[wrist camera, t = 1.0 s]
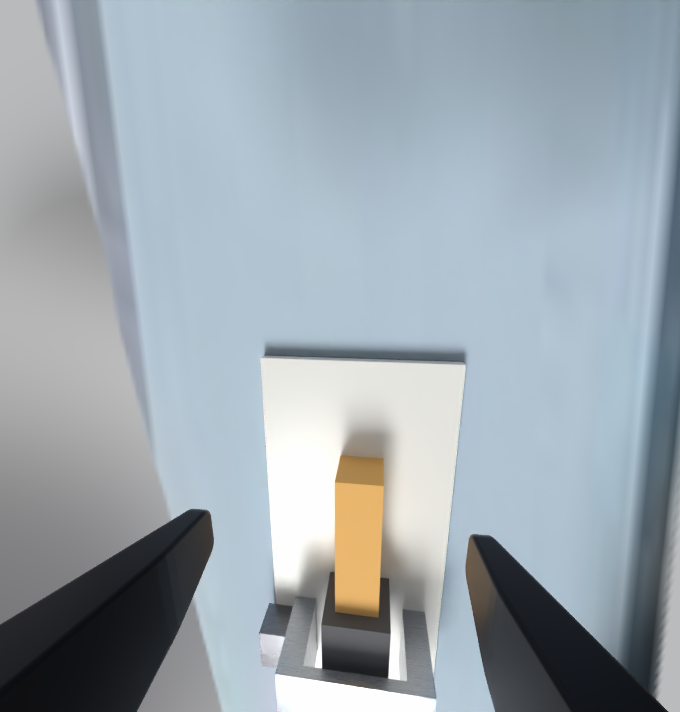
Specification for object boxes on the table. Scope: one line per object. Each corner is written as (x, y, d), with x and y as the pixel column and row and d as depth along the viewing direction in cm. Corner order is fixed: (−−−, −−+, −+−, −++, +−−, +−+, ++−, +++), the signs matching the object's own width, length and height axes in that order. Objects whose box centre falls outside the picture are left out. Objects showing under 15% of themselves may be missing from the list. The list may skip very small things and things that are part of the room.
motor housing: (424, 611, 21) (436, 699, 17) (420, 665, 23) (429, 759, 18) (268, 592, 23) (241, 669, 18) (272, 644, 24) (247, 727, 20)
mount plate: (463, 361, 18) (465, 364, 17) (419, 790, 27) (420, 801, 26) (264, 355, 19) (260, 357, 18) (288, 765, 28) (286, 775, 28)
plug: (395, 459, 19) (398, 497, 16) (386, 639, 23) (387, 701, 19) (329, 454, 19) (318, 491, 16) (330, 632, 23) (322, 691, 20)
